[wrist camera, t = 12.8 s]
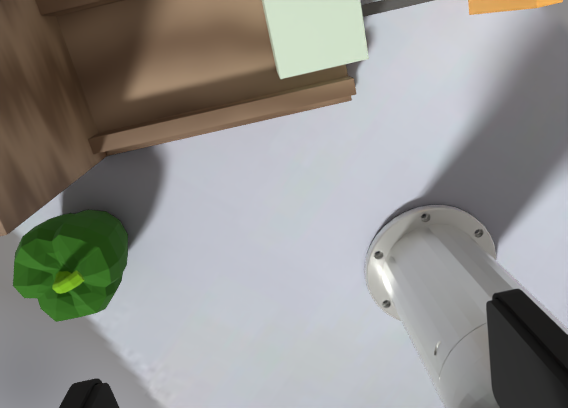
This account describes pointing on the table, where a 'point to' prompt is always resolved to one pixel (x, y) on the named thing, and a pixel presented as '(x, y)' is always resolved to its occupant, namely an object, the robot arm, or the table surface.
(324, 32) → the lane block
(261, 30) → the shelf lane
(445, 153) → the table surface
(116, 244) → the bell pepper
